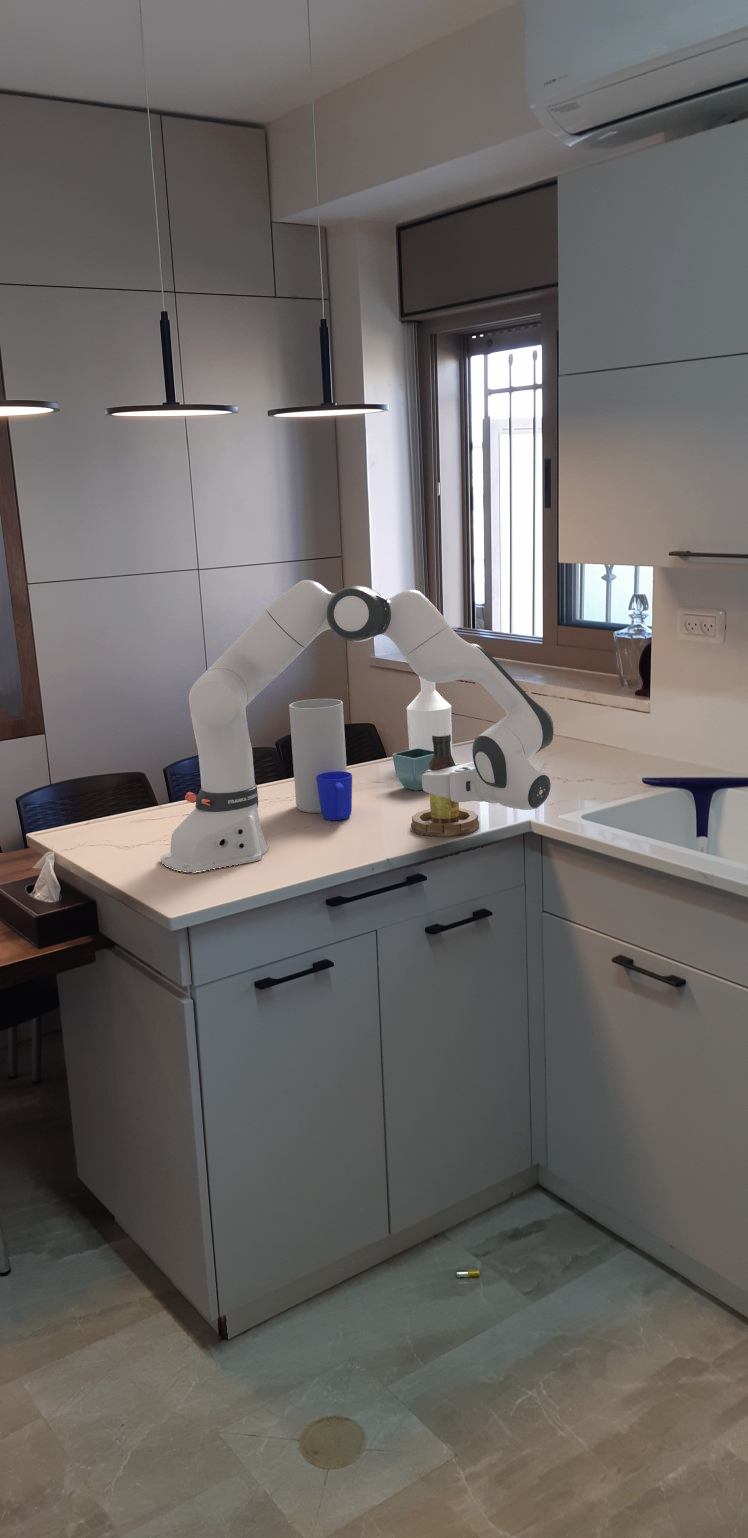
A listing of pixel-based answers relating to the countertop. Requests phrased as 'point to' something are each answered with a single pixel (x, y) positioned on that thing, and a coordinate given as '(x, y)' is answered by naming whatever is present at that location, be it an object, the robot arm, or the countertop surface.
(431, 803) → the sauce bottle
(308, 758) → the cylinder vase
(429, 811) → the tray
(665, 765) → the countertop surface
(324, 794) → the mug
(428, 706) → the bottle
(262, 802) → the countertop surface
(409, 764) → the flower pot
